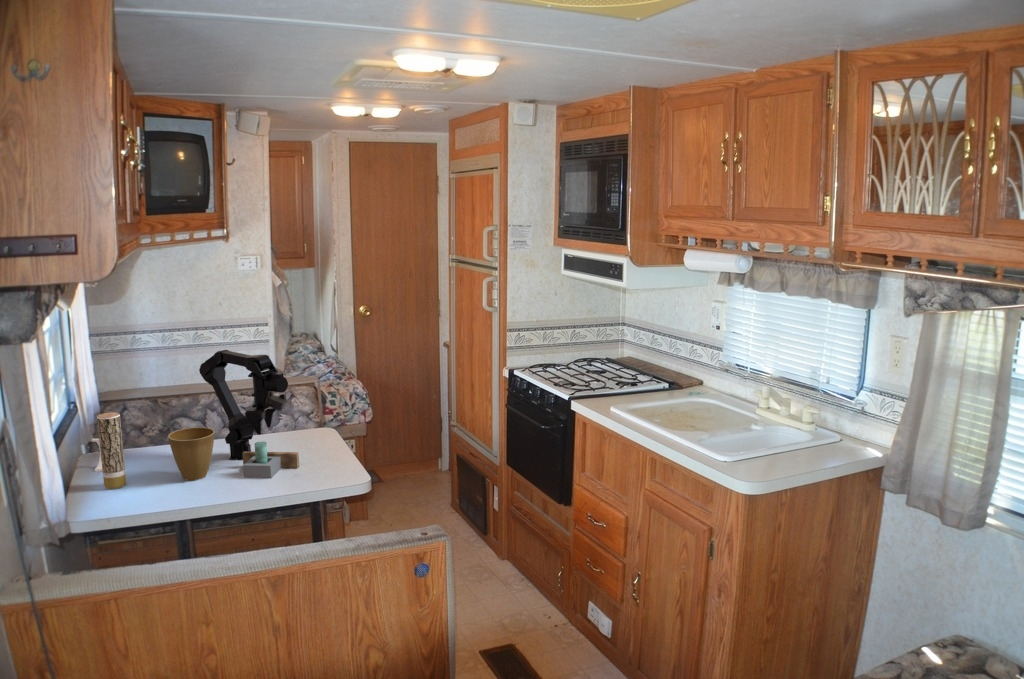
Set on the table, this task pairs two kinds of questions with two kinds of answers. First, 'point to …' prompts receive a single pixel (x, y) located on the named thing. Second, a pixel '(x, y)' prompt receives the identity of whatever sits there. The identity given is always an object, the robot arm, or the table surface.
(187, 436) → the plant pot
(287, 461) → the backstop wall
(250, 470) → the socket block
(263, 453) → the dowel
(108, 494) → the table surface
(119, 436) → the brown bark cylinder
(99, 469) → the headphone stand
